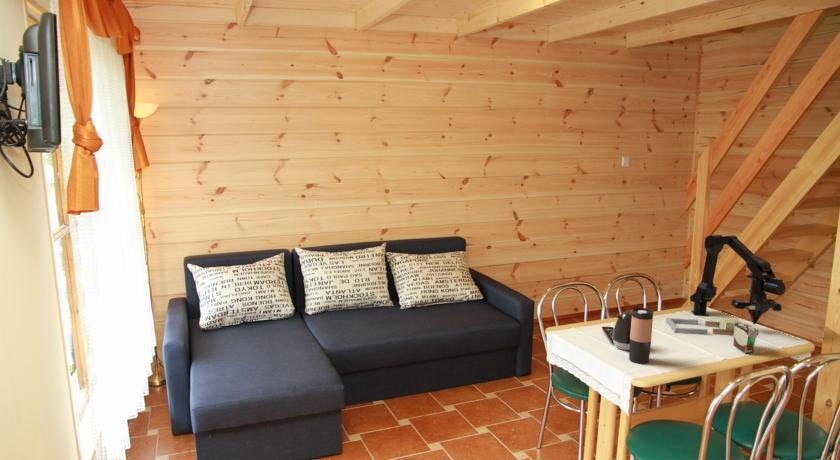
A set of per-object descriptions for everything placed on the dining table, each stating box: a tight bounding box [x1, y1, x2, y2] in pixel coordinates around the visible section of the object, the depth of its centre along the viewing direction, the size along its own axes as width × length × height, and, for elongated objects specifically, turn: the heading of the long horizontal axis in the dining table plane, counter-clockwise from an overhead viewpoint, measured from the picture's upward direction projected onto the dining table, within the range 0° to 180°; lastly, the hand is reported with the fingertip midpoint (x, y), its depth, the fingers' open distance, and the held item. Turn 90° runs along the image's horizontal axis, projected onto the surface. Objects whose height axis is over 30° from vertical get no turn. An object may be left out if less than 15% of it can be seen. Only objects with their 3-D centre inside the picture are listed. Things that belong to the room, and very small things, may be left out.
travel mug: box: [628, 307, 654, 365], centre depth 225 cm, size 8×8×20 cm
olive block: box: [718, 317, 743, 330], centre depth 262 cm, size 7×7×5 cm
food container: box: [732, 321, 759, 355], centre depth 238 cm, size 12×6×10 cm, turn 179°
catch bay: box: [665, 317, 709, 336], centre depth 265 cm, size 15×14×2 cm
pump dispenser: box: [611, 311, 632, 351], centre depth 238 cm, size 10×10×15 cm
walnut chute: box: [704, 320, 734, 336], centre depth 262 cm, size 12×16×2 cm
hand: (754, 323), depth 260 cm, fingers closed
